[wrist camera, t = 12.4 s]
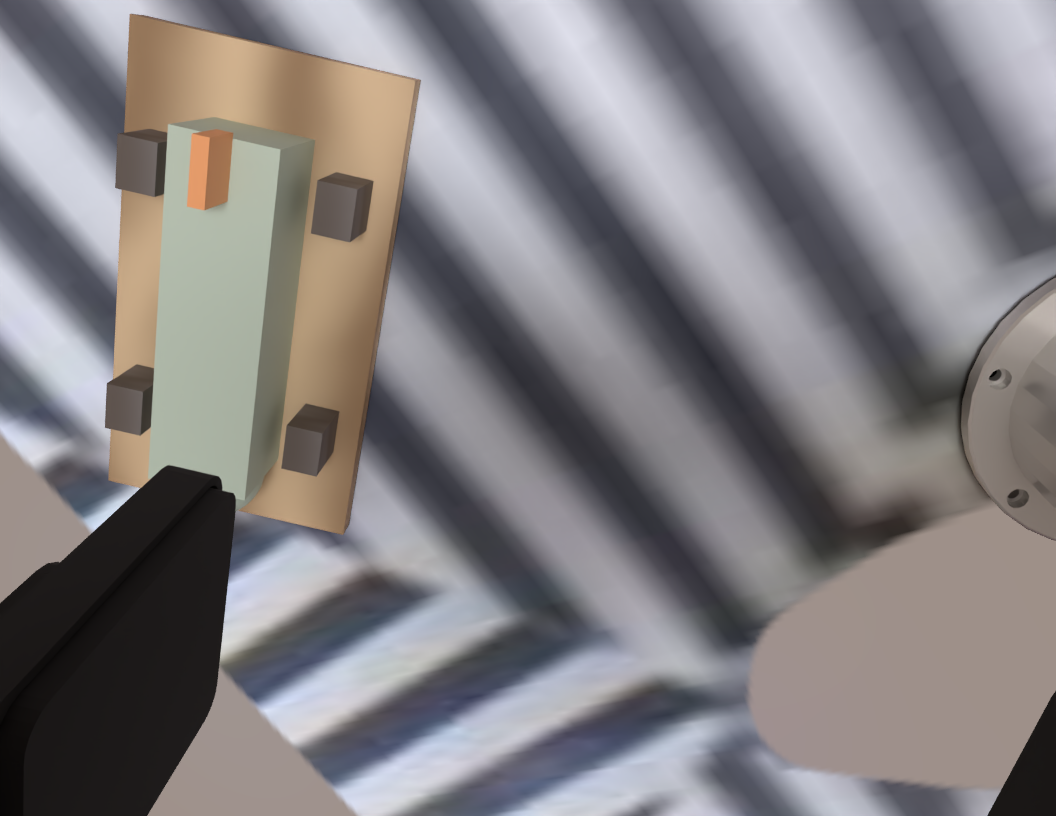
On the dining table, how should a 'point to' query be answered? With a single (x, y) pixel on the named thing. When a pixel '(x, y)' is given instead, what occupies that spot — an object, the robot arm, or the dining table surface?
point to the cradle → (327, 256)
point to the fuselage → (227, 298)
